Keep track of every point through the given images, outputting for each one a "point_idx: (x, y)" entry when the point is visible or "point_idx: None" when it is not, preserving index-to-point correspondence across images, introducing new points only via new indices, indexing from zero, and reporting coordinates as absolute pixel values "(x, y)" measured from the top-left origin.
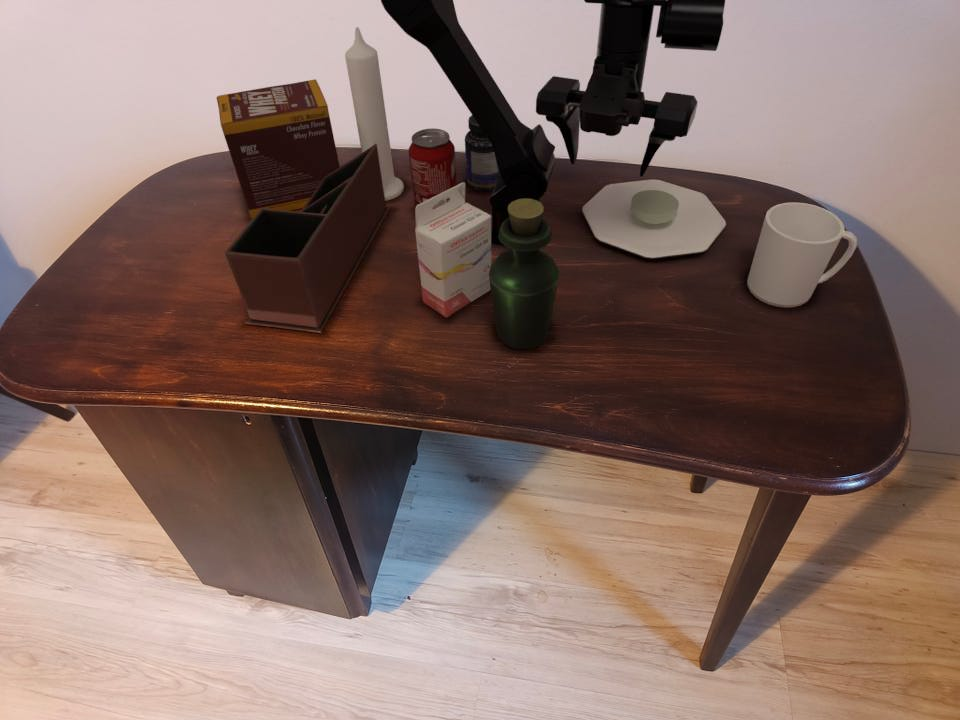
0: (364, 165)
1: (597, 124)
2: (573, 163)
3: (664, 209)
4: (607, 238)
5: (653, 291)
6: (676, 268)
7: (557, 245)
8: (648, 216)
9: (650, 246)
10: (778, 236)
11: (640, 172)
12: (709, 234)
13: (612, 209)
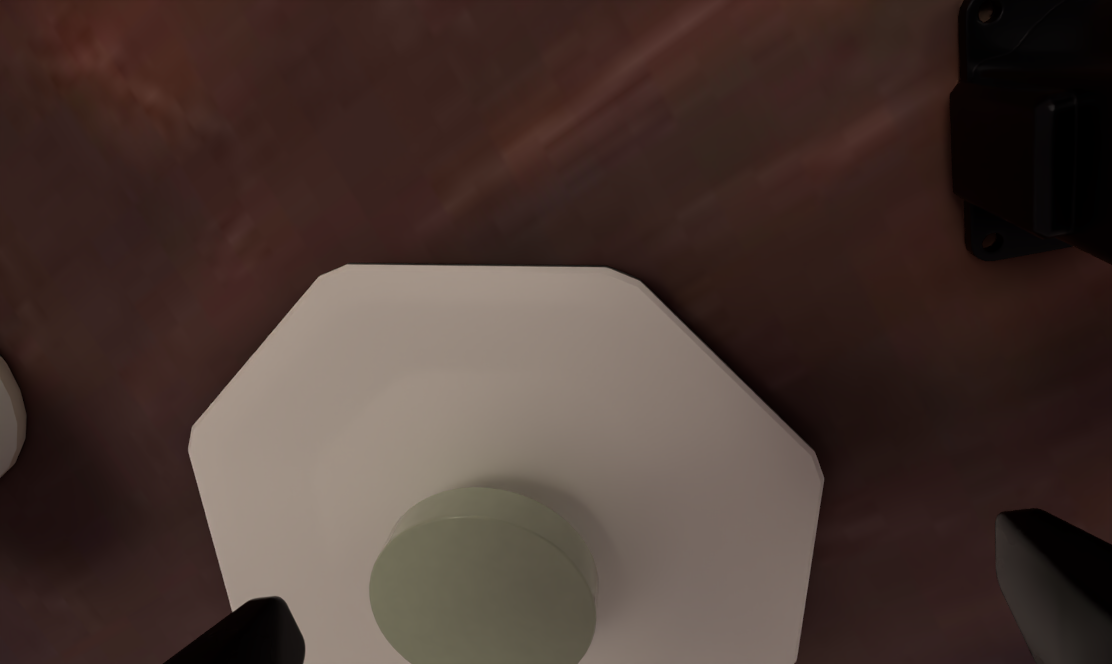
0: None
1: None
2: (1010, 515)
3: (412, 578)
4: (575, 297)
5: (219, 90)
6: (249, 305)
7: (815, 155)
8: (454, 507)
9: (401, 373)
10: None
11: (242, 622)
12: (238, 540)
13: (691, 538)
